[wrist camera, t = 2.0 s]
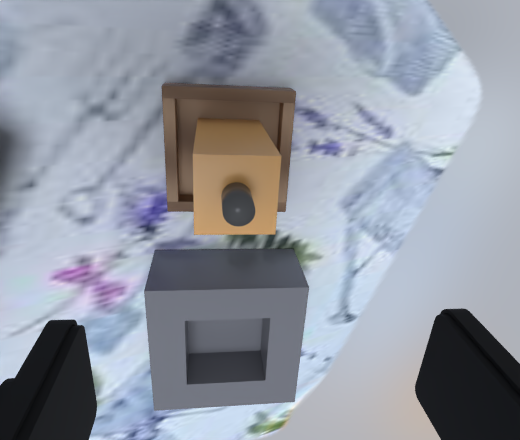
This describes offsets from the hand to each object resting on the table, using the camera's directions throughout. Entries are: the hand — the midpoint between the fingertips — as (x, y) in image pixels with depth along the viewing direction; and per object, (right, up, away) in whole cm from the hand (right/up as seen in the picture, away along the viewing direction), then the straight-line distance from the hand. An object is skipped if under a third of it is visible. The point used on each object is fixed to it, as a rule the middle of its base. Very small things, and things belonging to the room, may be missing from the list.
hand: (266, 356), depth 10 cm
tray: (-3, +9, +20) cm, 22 cm away
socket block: (-4, -4, +26) cm, 27 cm away
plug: (-3, +9, +19) cm, 22 cm away
